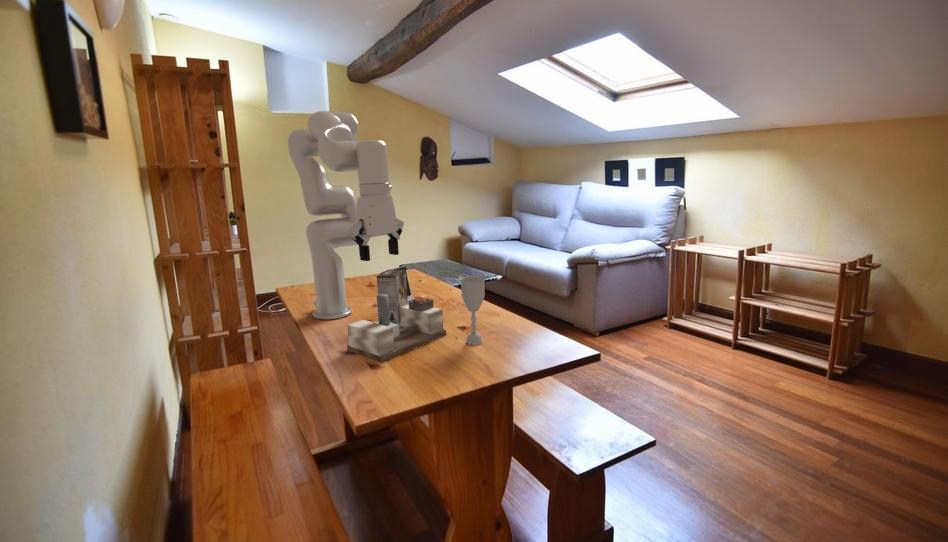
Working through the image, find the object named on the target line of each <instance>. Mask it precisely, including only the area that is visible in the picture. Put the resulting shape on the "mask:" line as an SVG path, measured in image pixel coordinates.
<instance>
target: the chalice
mask: <svg viewBox="0 0 948 542" xmlns="http://www.w3.org/2000/svg"><path fill="white" fill-rule="evenodd" d="M458 279H459V281H460V283H461V285H460V288H461V291H460V292H461V297H462V300H463V303H464V304H465V307H466V309H467V310H468V312H471V318H470V319H471V324H470V326H471V328H472V330H471V332H469V333H468V334H467V337H466V340H465V341H466V343H468V344H467V345H469V344H473V345H472V346H478V344H479V345H482V344H484V340H483V337H482V335H481V333H479V332H477V330H476V329H477V326H478V323H476V321H477V316H476V312H478V311H479V310H480V308H481V306H482V304H483V301H484V299H485V295H486V293H485V281H486V279H487V277H486V276H482V275H477V274H476V275H472V274H471V275H464V276H459V278H458Z"/></svg>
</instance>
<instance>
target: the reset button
mask: <svg viewBox="0 0 948 542" xmlns="http://www.w3.org/2000/svg"><path fill="white" fill-rule="evenodd" d="M426 298H427V295H426V294H417V295H415V296H414V299H415V302H419V303H422V302H425V301H426Z"/></svg>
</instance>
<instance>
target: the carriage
mask: <svg viewBox="0 0 948 542" xmlns="http://www.w3.org/2000/svg"><path fill="white" fill-rule="evenodd" d="M376 305H377V306H376V308H377V318H378V319H377V321H374V322H373V323H377V324H380V325H384V326H388V327H391V328H393V338H394V337H397V336H399V325H398V324H394V323H390V316H389V301H388V295H387V294H380V295H378V294H377V295H376Z"/></svg>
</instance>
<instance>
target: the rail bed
mask: <svg viewBox="0 0 948 542" xmlns="http://www.w3.org/2000/svg"><path fill="white" fill-rule="evenodd" d="M443 315H444V314H443V309H442V308H438V307H434V299H431V298H427V297H426V301H425V302H422V303H419V302H415V298H414V299H410V300H408V305H405V306H402V307H401V321H402V325H400V326H399V336H397V337H394V338H393V328H391V327H388V326H384V325H380V324H377V323H374V322H372V321H369V320H365V319H360V320H356V321H353V322H351V323H348V324H347V334H348V344H347V345H346V346H347V347H346V348H347V351H348V352H350V351H351V353H353V352H355V353H354V354H356V353H357V354H356V355H359V354H360V355H359V356H362V355H363V356H362V357H365V356H366V357H365V358H368V359H371V360H373V359H375V360H374V361H376V360H377V362H379V361H380V363H384V361H385V362H387V361H389V360H391V358H392V359H394V358H396V357H398V355H399V356H401V355H403V354H405V352H406V353H408V352H410V351H412V349H413V350H415V349H416V347H417V348H419V346H420V347H422V346H424V345H426V343H427V344H428V342H429V343H431V342H433V341H436V340H438V339H439V337H440V338H442V336H443V337H445V336H446V335H447V330H446V329H445V328H444V316H443ZM444 335H445V336H444ZM437 338H438V339H437ZM435 339H436V340H435ZM432 340H433V341H432ZM430 341H431V342H430ZM423 344H424V345H423ZM421 345H422V346H421ZM414 348H415V349H414Z"/></svg>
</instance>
